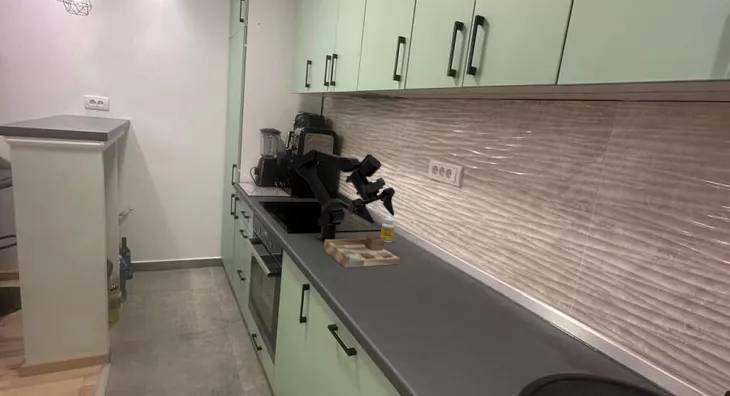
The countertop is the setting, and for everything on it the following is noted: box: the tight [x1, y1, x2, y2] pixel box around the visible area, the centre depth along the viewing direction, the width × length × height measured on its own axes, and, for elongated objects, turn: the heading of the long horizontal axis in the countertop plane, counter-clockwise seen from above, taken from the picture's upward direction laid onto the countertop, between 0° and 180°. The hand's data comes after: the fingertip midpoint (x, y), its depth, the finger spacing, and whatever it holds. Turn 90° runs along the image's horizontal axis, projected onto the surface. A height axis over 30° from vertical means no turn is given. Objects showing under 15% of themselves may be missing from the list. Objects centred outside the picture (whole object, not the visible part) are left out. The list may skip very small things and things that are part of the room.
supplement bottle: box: [379, 217, 395, 243], centre depth 173 cm, size 5×5×10 cm
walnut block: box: [365, 235, 385, 251], centre depth 154 cm, size 5×5×4 cm
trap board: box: [323, 237, 401, 269], centre depth 148 cm, size 18×22×4 cm
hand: (383, 219), depth 146 cm, fingers open, 9 cm apart
